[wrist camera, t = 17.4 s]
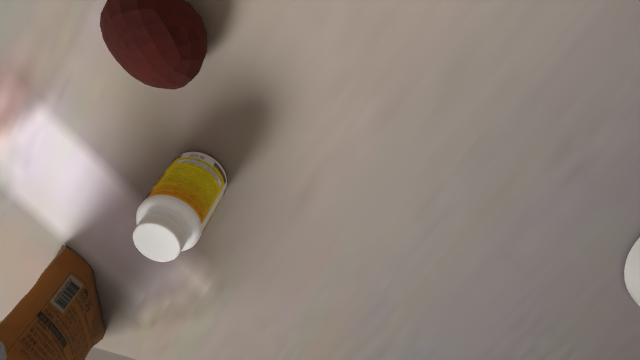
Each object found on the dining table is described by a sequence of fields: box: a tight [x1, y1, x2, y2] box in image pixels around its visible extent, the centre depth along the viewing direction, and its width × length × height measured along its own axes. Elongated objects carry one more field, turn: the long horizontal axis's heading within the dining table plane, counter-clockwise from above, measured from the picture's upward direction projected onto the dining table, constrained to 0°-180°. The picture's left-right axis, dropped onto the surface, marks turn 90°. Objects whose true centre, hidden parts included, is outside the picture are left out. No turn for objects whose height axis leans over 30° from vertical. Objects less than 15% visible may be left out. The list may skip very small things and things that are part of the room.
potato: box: [100, 0, 207, 89], centre depth 44 cm, size 7×8×6 cm
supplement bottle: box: [133, 152, 227, 262], centre depth 50 cm, size 6×6×10 cm
